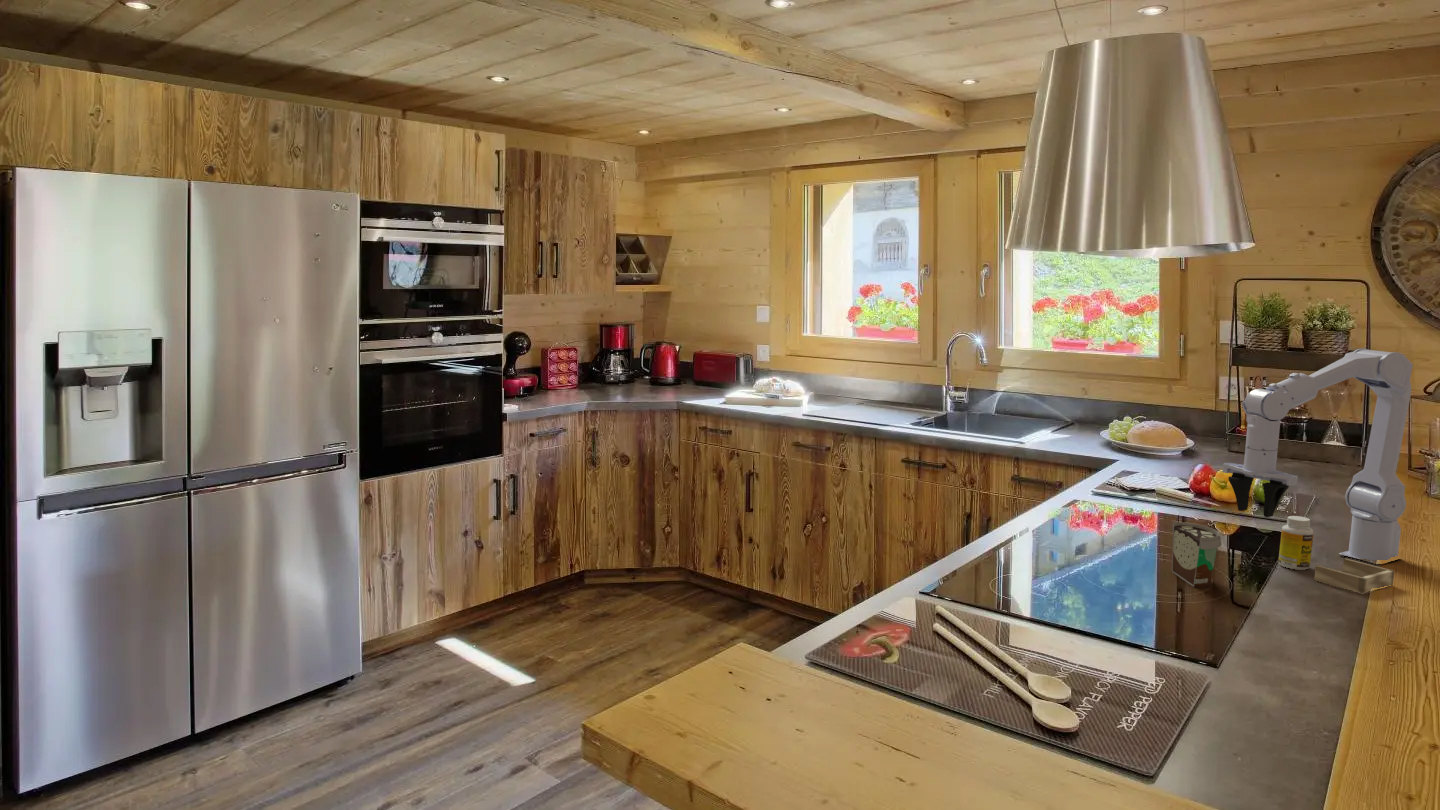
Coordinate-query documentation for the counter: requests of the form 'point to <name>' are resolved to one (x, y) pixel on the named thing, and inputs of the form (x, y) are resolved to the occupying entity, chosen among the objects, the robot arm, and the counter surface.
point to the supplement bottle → (1296, 543)
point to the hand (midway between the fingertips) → (1255, 513)
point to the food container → (1194, 552)
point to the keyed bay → (1355, 576)
